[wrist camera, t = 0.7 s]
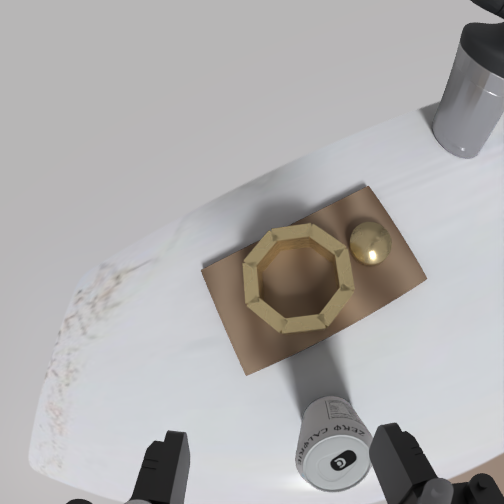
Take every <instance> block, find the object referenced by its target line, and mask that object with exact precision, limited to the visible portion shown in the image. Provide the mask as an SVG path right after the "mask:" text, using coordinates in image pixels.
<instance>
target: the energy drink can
mask: <svg viewBox="0 0 504 504" xmlns="http://www.w3.org/2000/svg"><path fill="white" fill-rule="evenodd" d="M372 440H373V437H372V436H371V434H370V432H369V431H368V429H367V428H366V427H365V425H364V424H363V422H362V421H361V419H360V418H359V416H358V415H357V413H356V412H355V410H354V409H353V407H352V406H351V405H350V404H349V403H348V402H347V401H346V400H344V399H342V398H340V397H336V396H326V397H322V398H319V399H317V400H316V401H314V402H313V403H311V404H310V405H309V406H308V408H307V409H306V411H305V412H304V415H303V419H302V424H301V430H300V435H299V440H298V446H297V451H296V458H295V461H296V467H297V470H298V472H299V474H300V475H301V477H302V478H303V479H304V480H305V481H306V482H308V483H309V484H310V485H312V486H313V487H314V488H316V489H318V490H321V491H324V492H341V491H345V490H348V489H350V488H352V487H354V486H356V485H357V484H359V483H360V482H361V481H362V480H363V479H364V478H365V477H366V476H367V474H368V472H369V470H370V468H371V467H372V463H371V461H370V458H369V448H370V445H371V443H372Z"/></svg>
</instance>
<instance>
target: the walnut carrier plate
mask: <svg viewBox="0 0 504 504" xmlns="http://www.w3.org/2000/svg"><path fill="white" fill-rule="evenodd" d="M365 222H375V223H378V224H380V225H382V226H383V227H384V228H385V229H386V230H387V231H388V232H389V234H390V236H391V240H392V248H391V251H390V253H389V255H388V256H387V258H386V259H385V260H384V261H383V262H382V263H381V264H379V265H377V266H373V267H368V266H364V265H361V264H359V263H358V262H357V261H355V259H354V258H353V257H352V255H351V253H350V250H349V241H350V238H351V234H352V232H353V230H354V229H355V228H356V227H357V226H358V225H360V224H362V223H365ZM308 223H311V226H312V225H313V224H315V225H316V226H318V227H319V228H321V229H322V230H324V231H325V232H326V233H328V234H329V235H331V236H332V237H334V238H335V239H336V240H338V241H339V242H341V243H342V244H344V245H345V246H346V249H348V252H349V258H350V263H351V269H352V275H353V281H354V288H355V290H354V291H353V292H354V293H353V294H352V296H351V297H350V299H349V300H348V301H347V303H346V304H345V306H344V307H343V308H342V310H341V311H340V312H339V314H338V315H337V316H336V317H335V319H334V320H333V321H332V323H331V324H330V325H329V326H328V328H327V329H326V328H325V330H323V331H315V332H307V333H299V334H290V335H284V334H281V333H279V332H278V331H276V330H275V329H274V328H273V327H272V326H270V325H269V324H268V323H267V322H265V321H264V320H263V319H262V318H261V317H259V316H258V315H257V314H256V313H254V312H253V311H252V310H251V309H250V308H248V307H247V304H245V291H244V278H243V263H245V262H244V259H245V258H246V257H247V256H248V255H249V253H250V252H251V251H252V250H253V249H254V247H255V246H256V245H257V244H258V243H259V241H260V240H259V241H257V242H255V243H253V244H251V245H249V246H247V247H245V248H243V249H241V250H239V251H237V252H235V253H233V254H231V255H229V256H227V257H226V258H224V259H222V260H220V261H218V262H216V263H214V264H212V265H210V266H208V267H206V268H204V269H202V270H201V272H202V275H203V277H204V280H205V282H206V284H207V287H208V289H209V292H210V294H211V297H212V299H213V301H214V304H215V306H216V309H217V311H218V313H219V316H220V318H221V320H222V323H223V325H224V327H225V330H226V332H227V334H228V337H229V339H230V341H231V344H232V346H233V348H234V350H235V353H236V355H237V357H238V359H239V361H240V364H241V366H242V368H243V370H244V372H245V375H246V376H247V375H249V374H252V373H254V372H256V371H259V370H261V369H263V368H265V367H268V366H270V365H272V364H274V363H277V362H279V361H281V360H283V359H285V358H287V357H289V356H292V355H294V354H296V353H298V352H300V351H302V350H304V349H306V348H308V347H310V346H312V345H314V344H316V343H318V342H320V341H322V340H324V339H326V338H328V337H330V336H332V335H333V334H335V333H337V332H339V331H341V330H343V329H345V328H347V327H348V326H350V325H352V324H354V323H356V322H357V321H359V320H361V319H363V318H365V317H366V316H368V315H370V314H372V313H373V312H375V311H377V310H378V309H380V308H382V307H383V306H385V305H387V304H388V303H390V302H392V301H393V300H395V299H397V298H398V297H400V296H402V295H403V294H405V293H406V292H408V291H410V290H411V289H413V288H414V287H416V286H417V285H419V284H420V283H422V282H423V281H425V280H426V279H427V277H426V275H425V273H424V272H423V270H422V268H421V266H420V265H419V263H418V261H417V259H416V258H415V256H414V254H413V253H412V251H411V249H410V248H409V246H408V244H407V243H406V241H405V239H404V238H403V236H402V235H401V233H400V232H399V230H398V228H397V227H396V225H395V224H394V222H393V221H392V219H391V218H390V216H389V215H388V213H387V212H386V210H385V209H384V207H383V206H382V204H381V203H380V201H379V200H378V198H377V197H376V195H375V194H374V193H373V191H372V190H371V188H370V187H369V186H367V187H365V188H363V189H361V190H359V191H357V192H355V193H353V194H351V195H349V196H347V197H345V198H343V199H341V200H339V201H337V202H335V203H333V204H331V205H329V206H327V207H325V208H323V209H321V210H319V211H317V212H315V213H313V214H311V215H309V216H307V217H305V218H303V219H301V220H299V221H297V222H295V223H293V224H291V225H289V226H294V225H301V224H308ZM262 280H263V291H264V302H265V303H266V304H268V305H269V306H270V307H271V308H273V309H274V310H275V311H276V312H278V313H279V314H280V315H281V316H283V317H284V318H293V317H301V316H309V315H316V314H320V313H321V311H322V310H323V309H324V307H325V306H326V305H327V304H328V302H329V301H330V300H331V298H332V297H333V296H334V294H335V293H336V292H337V287H336V280H335V273H334V267H333V264H332V263H331V262H330V261H328V260H327V259H325V258H324V257H323V256H321V255H320V254H319V253H317V252H316V251H314V250H313V249H312V248H310V247H306V248H299V249H292V250H284V251H280V252H279V253H278V255H277V256H276V257H275V258H274V260H273V261H272V262H271V263H270V264H269V266H268V267H267V268H266V269H265V271H264V272H263V273H262Z"/></svg>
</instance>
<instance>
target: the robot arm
mask: <svg viewBox="0 0 504 504" xmlns="http://www.w3.org/2000/svg"><path fill="white" fill-rule="evenodd" d="M471 1H472V2H473V3H475V4H476V5H478V6H480V7H481V8H483V9H485V10H487V11H489V12H491V13H493V14H495V15H497V16H499V17H501V18H503V19H504V0H471ZM503 112H504V22H502V23H498V24H486V23H469V24H467V25H465V27H464V28H463V31H462V34H461V38H460V42H459V46H458V50H457V53H456V57H455V60H454V63H453V67H452V70H451V73H450V76H449V79H448V82H447V85H446V88H445V91H444V94H443V97H442V100H441V102H440V105H439V108H438V110H437V113H436V116H435V118H434V121H433V125H432V128H433V132H434V135H435V137H436V139H437V140H438V142H439V143H440V144H441V145H442V146H443V147H444V148H445V149H446V150H448V151H449V152H450V153H452V154H454V155H456V156H458V157H462V158H473V157H475V156H477V154H478V153H479V152H480V150H481V149H482V147H483V145H484V144H485V142H486V141H487V139H488V137H489V136H490V134H491V132H492V131H493V129H494V127H495V126H496V124H497V122H498V120H499V119H500V117H501V115H502V113H503ZM369 458H370V461H371V463H372V465H373V468H374V470H375V473H376V475H377V478H378V480H379V483H380V485H381V488H382V490H383V493H384V495H385V498H386V501H387V503H388V504H504V497H503V495H502V494H501V492H500V490H499V488H498V486H497V485H496V483H495V481H494V480H493V478H492V477H491V476H490V475H487V474H483V473H480V474H477V475H475V476H473V477H472V479H471V480H470V481H469V482H464V483H456V484H451V483H450V482H449V481H448V480H446V479H443V478H438V477H437V475H436V474H435V472H434V470H433V468H432V466H431V465H430V463H429V461H428V460H427V458H426V456H425V454H423V451H422V449H421V447H419V444H418V442H417V441H416V439H415V437H413V436H412V435H411V434H410V433H408V432H407V431H405V432H402V431H401V429H400V427H399V425H398V424H397V423H390V424H385V425H380V426H379V427H378V428H377V431H376V433H375V436H374V438H373V440H372V443H371V445H370V448H369ZM189 468H190V451H189V445H188V439H187V434H186V432H177V431H169V430H168V431H167V433H166V436H165V440H164V442H161V441H154V442H153V443H152V444H151V445H150V446H149V447H148V448H147V450H146V453H145V456H144V460H143V462H142V466H141V469H140V472H139V475H138V478H137V481H136V485H135V488H134V491H133V494H132V497H131V498H130V500H129V501H128V502H126V503H125V504H184V498H185V492H186V485H187V479H188V474H189ZM66 504H92V503H91V502H89V501H87V500H83V499H74V500H71V501H69V502H68V503H66Z"/></svg>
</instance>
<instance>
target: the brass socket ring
mask: <svg viewBox="0 0 504 504" xmlns="http://www.w3.org/2000/svg"><path fill="white" fill-rule="evenodd" d="M271 230H272V232H271V231H270V230H269V231H268V232H267V233H266V234H265V235H264V237H263V238H262V239H261V240H260V241H259V243H258V244H257V245H256V246H255V247H254V249H253V250H252V251H251V252H250V253H249V255H248V256H247V257H246V258H245V259H244V262H245V263H243V278H244V291H245V304H247V307H248V308H250V309H251V310H252V311H253V312H254V313H256V314H257V315H258V316H259V317H261V318H262V319H263V320H264V321H265V322H267V323H268V324H269V325H270V326H272V327H273V328H274V329H275V330H276V331H278V332H279V333H281V334H284V335H290V334H299V333H307V332H315V331H323V330H325V328H326V329H327V328H328V326H329V325H330V324H331V323H332V321H333V320H334V319H335V317H336V316H337V315H338V314H339V312H340V311H341V310H342V308H343V307H344V306H345V304H346V303H347V301H348V300H349V299H350V297H351V296H352V294H353V293H354V292H353V291H354V290H355V288H354V281H353V275H352V269H351V263H350V258H349V252H348V249H346V246H345V245H344V244H342V243H341V242H339V241H338V240H336V239H335V238H334V237H332V236H331V235H329V234H328V233H326V232H325V231H324V230H322V229H321V228H319V227H318V226H316V225H315V224H313V225H312V226H311V223H308V224H301V225H294V226H287V227H280V228H273V229H271ZM306 247H310V248H312V249H313V250H314V251H316V252H317V253H319V254H320V255H321V256H323V257H324V258H325V259H327V260H328V261H330V262H331V263H332V264H333V267H334V273H335V280H336V287H337V292H336V293H335V294H334V296H333V297H332V298H331V300H330V301H329V302H328V304H327V305H326V306H325V307H324V309H323V310H322V311H321V313H320V314H316V315H309V316H301V317H293V318H284V317H283V316H281V315H280V314H279V313H278V312H276V311H275V310H274V309H273V308H271V307H270V306H269V305H268V304H266V303H265V302H264V291H263V280H262V273H263V272H264V271H265V269H266V268H267V267H268V266H269V264H270V263H271V262H272V261H273V260H274V258H275V257H276V256H277V255H278V253H279V252H280V251H284V250H292V249H299V248H306ZM391 248H392V240H391V236H390V234H389V232H388V231H387V230H386V229H385V228H384V227H383V226H382V225H380V224H378V223H375V222H365V223H362V224H360V225H358V226H357V227H356V228H355V229H354V230H353V232H352V234H351V238H350V241H349V250H350V253H351V255H352V257H353V258H354V259H355V261H357V262H358V263H359V264H361V265H364V266H368V267H373V266H377V265H379V264H381V263H382V262H383V261H384V260H385V259H386V258H387V256H388V255H389V253H390V251H391Z"/></svg>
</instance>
